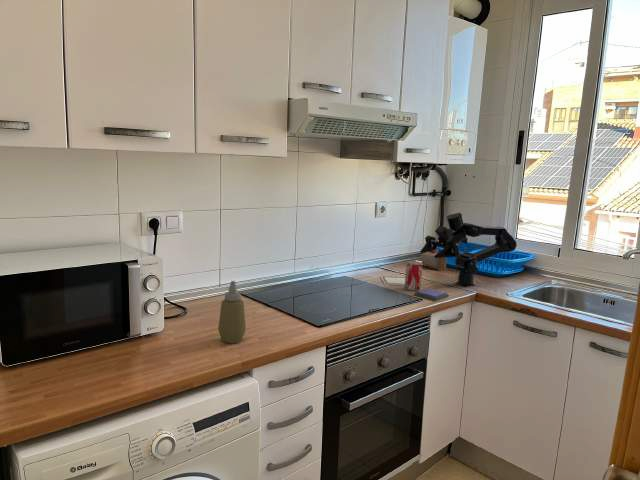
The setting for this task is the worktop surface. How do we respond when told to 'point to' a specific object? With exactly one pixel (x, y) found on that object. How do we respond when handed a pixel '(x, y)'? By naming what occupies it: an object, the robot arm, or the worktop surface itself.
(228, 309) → the squeeze bottle
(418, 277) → the soda can
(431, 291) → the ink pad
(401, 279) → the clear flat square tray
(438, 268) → the food item
